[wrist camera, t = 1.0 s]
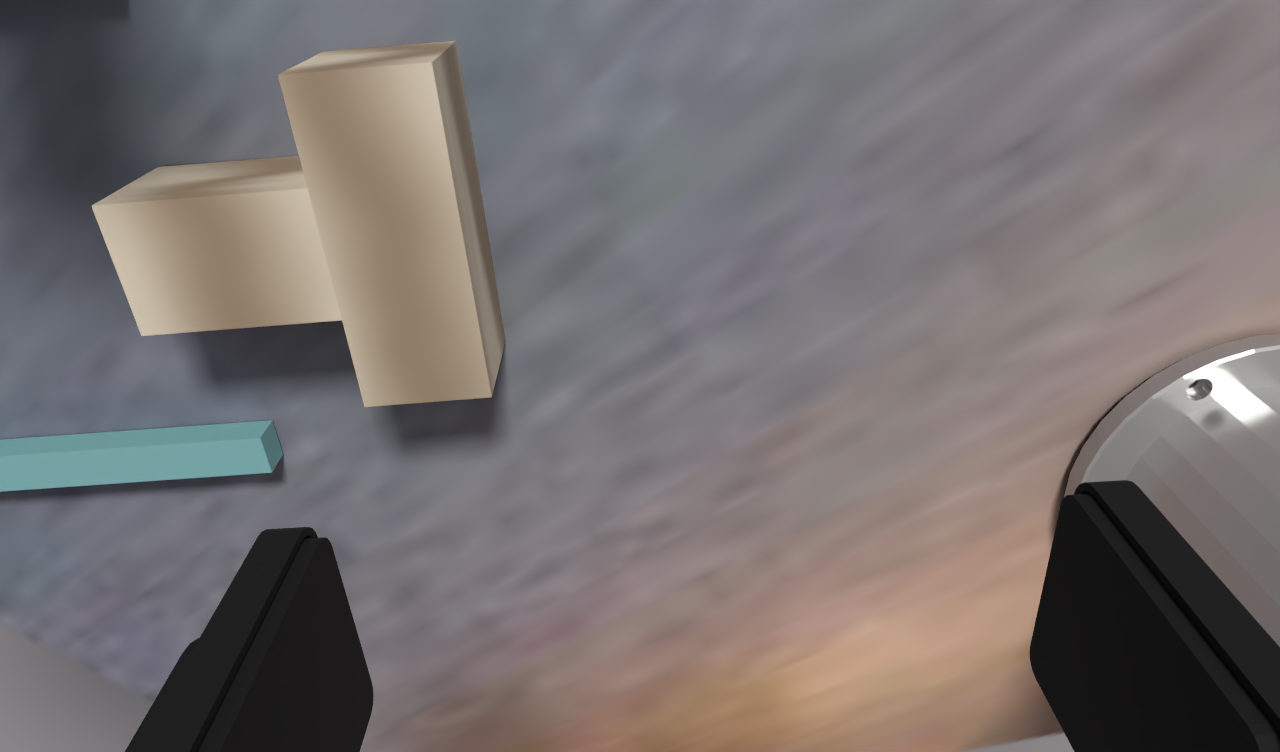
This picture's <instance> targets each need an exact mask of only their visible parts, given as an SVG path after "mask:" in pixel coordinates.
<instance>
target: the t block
mask: <svg viewBox="0 0 1280 752" xmlns="http://www.w3.org/2000/svg"><path fill="white" fill-rule="evenodd" d="M278 78H279V81H280V85H281V89H282V93H283V97H284V100H285V104H286V108H287V112H288V116H289V120H290V123H291V127H292V131H293V135H294V139H295V143H296V146H297V150H298V154H299V156H289V157H277V158H264V159H252V160H239V161H227V162H214V163H202V164H189V165H177V166H165V167H157V168H156V169H154V170H152V171H150V172H149V173H147V174H145V175H143V176H142V177H140V178H138V179H137V180H135V181H133V182H131V183H130V184H128V185H126V186H124V187H123V188H121V189H119V190H118V191H116V192H114V193H112V194H111V195H109V196H107V197H105V198H104V199H102V200H100V201H99V202H97V203H95V204H93V205H92V209H93V211H94V214H95V217H96V219H97V222H98V224H99V227H100V230H101V232H102V235H103V237H104V240H105V242H106V245H107V248H108V250H109V253H110V255H111V258H112V261H113V263H114V266H115V268H116V271H117V273H118V276H119V279H120V281H121V284H122V286H123V289H124V292H125V294H126V297H127V299H128V302H129V305H130V307H131V310H132V312H133V315H134V317H135V320H136V323H137V325H138V328H139V330H140V333H141V336H148V335H161V334H174V333H187V332H199V331H212V330H225V329H238V328H251V327H263V326H276V325H289V324H302V323H315V322H327V321H340V320H342V322H343V326H344V330H345V334H346V338H347V341H348V345H349V349H350V353H351V357H352V360H353V364H354V368H355V372H356V376H357V380H358V383H359V387H360V391H361V395H362V399H363V403H364V406H365V407H373V406H386V405H399V404H412V403H424V402H437V401H450V400H463V399H476V398H489V397H492V394H493V390H494V386H495V382H496V378H497V374H498V370H499V366H500V362H501V358H502V354H503V350H504V346H505V335H504V329H503V323H502V317H501V311H500V305H499V299H498V292H497V286H496V280H495V274H494V268H493V262H492V256H491V250H490V244H489V238H488V232H487V225H486V219H485V213H484V207H483V201H482V195H481V189H480V183H479V177H478V171H477V165H476V158H475V152H474V146H473V140H472V134H471V128H470V122H469V116H468V110H467V104H466V98H465V91H464V85H463V79H462V73H461V67H460V61H459V55H458V49H457V43H456V41H448V42H436V43H423V44H411V45H398V46H386V47H373V48H361V49H348V50H336V51H324V52H321V53H319V54H317V55H315V56H314V57H312V58H310V59H308V60H306V61H304V62H302V63H300V64H298V65H296V66H294V67H292V68H290V69H288V70H286V71H284V72H282V73H280V74H278Z"/></svg>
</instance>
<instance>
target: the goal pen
mask: <svg viewBox="0 0 1280 752" xmlns="http://www.w3.org/2000/svg"><path fill="white" fill-rule="evenodd" d="M282 456H283V452H282V449H281V446H280V443H279V439H278V436H277V433H276V430H275V427H274V424H273V421H272V420H270V421H256V422H242V423H228V424H214V425H200V426H186V427H172V428H158V429H144V430H130V431H116V432H101V433H87V434H73V435H59V436H45V437H31V438H17V439H3V440H0V492H2V491H16V490H30V489H45V488H59V487H73V486H88V485H102V484H116V483H131V482H145V481H159V480H173V479H188V478H202V477H216V476H231V475H245V474H259V473H272V472H273V470H274V468H275V467H276V465H277V464H278V462H279V460H280V459H281V457H282Z"/></svg>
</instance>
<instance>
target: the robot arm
mask: <svg viewBox="0 0 1280 752" xmlns="http://www.w3.org/2000/svg"><path fill="white" fill-rule="evenodd" d="M1030 661H1031V666H1032V670H1033V673H1034V676H1035V678H1036V680H1037V682H1038V684H1039V686H1040V687H1041V689H1042V691H1043V693H1044V695H1045V697H1046V699H1047V701H1048V703H1049V704H1050V706H1051V708H1052V710H1053V712H1054V714H1055V716H1056V718H1057V719H1058V721H1059V723H1060V725H1061V727H1062V729H1063V731H1064V733H1065V735H1066V736H1067V738H1068V740H1069V742H1070V744H1071V746H1072V748H1073V750H1074V751H1075V752H1280V334H1271V335H1257V336H1252V337H1248V338H1244V339H1239V340H1235V341H1231V342H1226V343H1222V344H1219V345H1217V346H1214V347H1211V348H1209V349H1206V350H1204V351H1201V352H1198V353H1196V354H1193V355H1191V356H1188V357H1186V358H1184V359H1182V360H1180V361H1179V362H1177V363H1175V364H1173V365H1171V366H1170V367H1168V368H1166V369H1164V370H1162V371H1161V372H1159V373H1157V374H1155V375H1154V376H1152V377H1151V378H1150V379H1148V380H1147V381H1146V382H1144V383H1143V384H1142V385H1140V386H1139V387H1138V388H1136V389H1135V390H1134V391H1132V392H1131V393H1130V394H1128V395H1127V396H1126V397H1125V398H1124V399H1123V400H1122V401H1121V402H1120V403H1119V404H1118V405H1117V406H1116V407H1115V408H1114V409H1113V410H1112V411H1111V412H1110V413H1109V414H1108V415H1107V416H1106V417H1105V418H1104V419H1103V420H1102V421H1101V422H1100V423H1099V425H1098V426H1097V428H1096V429H1095V430H1094V432H1093V433H1092V434H1091V436H1090V437H1089V439H1088V440H1087V441H1086V443H1085V444H1084V445H1083V447H1082V449H1081V451H1080V453H1079V455H1078V457H1077V459H1076V461H1075V464H1074V466H1073V468H1072V470H1071V472H1070V475H1069V479H1068V483H1067V487H1066V491H1065V495H1064V499H1063V500H1062V503H1061V507H1060V511H1059V516H1058V520H1057V525H1056V530H1055V534H1054V539H1053V544H1052V548H1051V553H1050V557H1049V562H1048V567H1047V571H1046V576H1045V581H1044V585H1043V590H1042V595H1041V599H1040V604H1039V608H1038V613H1037V618H1036V622H1035V627H1034V632H1033V636H1032V641H1031V645H1030ZM372 706H373V686H372V682H371V678H370V675H369V671H368V668H367V665H366V661H365V658H364V654H363V651H362V647H361V644H360V641H359V637H358V634H357V630H356V627H355V623H354V620H353V617H352V613H351V610H350V606H349V603H348V599H347V596H346V593H345V589H344V586H343V582H342V579H341V575H340V572H339V569H338V565H337V562H336V558H335V555H334V551H333V548H332V545H331V543H330V541H329V540H328V538H318V537H317V534H316V532H315V531H314V530H313V529H312V528H309V527H301V528H283V529H267V530H265V531H262V532H261V534H260V535H259V536H258V538H257V539H256V541H255V543H254V545H253V546H252V548H251V550H250V551H249V553H248V555H247V557H246V558H245V560H244V562H243V564H242V565H241V567H240V569H239V571H238V572H237V574H236V576H235V578H234V579H233V581H232V583H231V585H230V586H229V588H228V590H227V592H226V593H225V595H224V597H223V598H222V600H221V602H220V604H219V605H218V607H217V609H216V611H215V612H214V614H213V616H212V618H211V619H210V621H209V623H208V625H207V626H206V628H205V630H204V632H203V633H202V635H201V637H200V638H198V639H197V640H195V641H193V642H192V643H190V644H189V646H188V647H187V648H186V650H185V651H184V652H183V654H182V655H181V657H180V658H179V660H178V662H177V664H176V665H175V667H174V669H173V670H172V672H171V674H170V676H169V677H168V679H167V681H166V682H165V684H164V686H163V687H162V689H161V691H160V693H159V694H158V696H157V698H156V699H155V701H154V703H153V705H152V706H151V708H150V710H149V711H148V713H147V715H146V717H145V718H144V720H143V722H142V723H141V725H140V727H139V728H138V730H137V732H136V734H135V735H134V737H133V739H132V740H131V742H130V744H129V746H128V747H127V749H126V751H125V752H359V751H360V748H361V745H362V742H363V739H364V735H365V732H366V729H367V726H368V722H369V719H370V716H371V712H372Z"/></svg>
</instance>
